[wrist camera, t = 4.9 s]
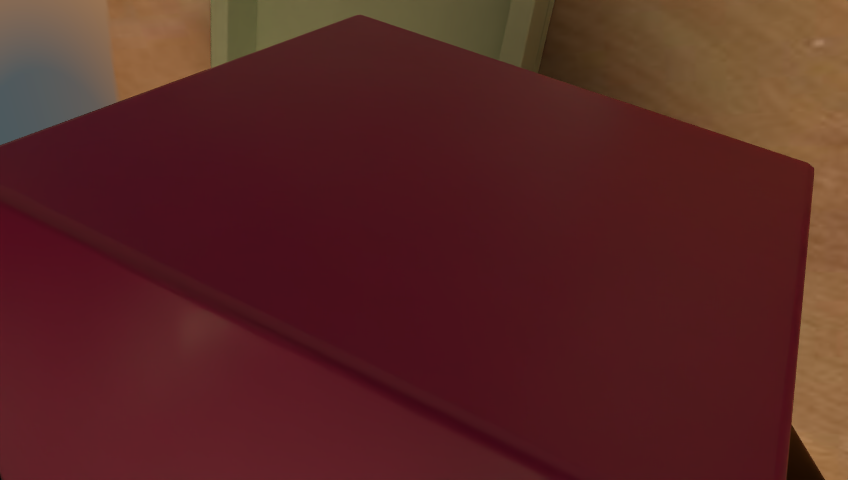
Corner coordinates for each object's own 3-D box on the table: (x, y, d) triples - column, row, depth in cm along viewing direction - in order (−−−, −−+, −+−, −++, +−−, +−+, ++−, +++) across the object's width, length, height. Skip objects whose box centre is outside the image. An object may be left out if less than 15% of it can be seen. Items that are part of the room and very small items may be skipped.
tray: (497, 251, 24) (473, 283, 22) (248, 163, 26) (210, 186, 25) (578, -101, 18) (556, -94, 17) (256, -169, 21) (208, -168, 19)
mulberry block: (643, 507, 10) (504, 970, 6) (315, 346, 11) (24, 626, 7) (818, 163, 7) (785, 581, 3) (357, 10, 9) (-66, 161, 5)
